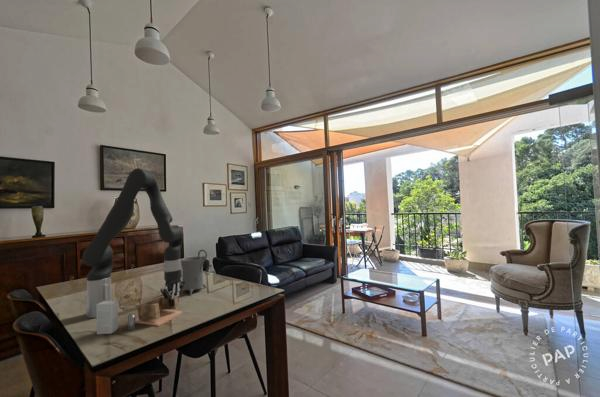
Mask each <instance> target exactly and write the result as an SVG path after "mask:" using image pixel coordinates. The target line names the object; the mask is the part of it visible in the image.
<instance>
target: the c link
mask: <svg viewBox="0 0 600 397" xmlns="http://www.w3.org/2000/svg"><path fill="white" fill-rule="evenodd" d="M170 296H171V295H170ZM178 298H179V296H177V295H174V298H173V299H174V306H173V307H170V306H169V299H165V298H164V296H163V295H160V296H157V297H156V298H153V299H151V300H148V301H146V302H143V303H141V304H138V305H136V306H137V314H138V317H139V320H143V319H158V318H160V311H161V310H177V309H179V308H180V305H179V302H178V300H179V299H178Z"/></svg>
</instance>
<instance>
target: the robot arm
mask: <svg viewBox="0 0 600 397" xmlns="http://www.w3.org/2000/svg"><path fill="white" fill-rule="evenodd" d="M141 189H142V190H143V191H144V192H145V193H146V194H147V196H148V198H149V205H150V207H149V208H150V212H151V214H152V216H153V218H154V221H155V223H156V224H157V229H158V235H159V238H160V239H161V240H162V241H163V243H166V244H168V247H166V248H165V249H164V251H163V252H164V253H163V254H164V255H163V256H164V259H163V260H164V261H163V262H164V263H163V275H164V276H163V280H164V281H165V284H164V287H163V288H160V293H161V294H162V296H164V298H165V299H169V306H170V307H173V306H174V299H173V298H174V295H177V296H178V303H179V299H180V298H179V297H180V295H181V294H183V291H184V289H183V288H184V284H185V281H182V263H181V259H182V258H181V249H182V245H183V242H184V232H183V229H182V228H181V227H179V226H171V223H172V222H173V217H172V215H171V212H170V211H169V208H168V207H167V205H166V203H165V200H164V198H163V196H162V193H161V190H160V187H159V184H158V180H157V177H156V175H155V174H154V173H153V172H152V171H149V170H146V169H142V168H134V169H133V170H132V171H131V172H130V173H129V174H128V176H127V177H126V180H125V182H124V185H123V187H122V189H121V192H120V193H119V195H118V197H117V198H116V200H115V202H114V204H113V206H112V207H111V209H110V210H109V212H108V213H107V215H106V217H105V219H104V221H103V222H102V224H101V226H100V227H99V230H98V231H97V233H96V234H95V236H94V237H93V239H92V240H91V241H90V243H89V244H88V246H86V248H85V249H84V251H83V253H82V259H81V260H82V262H83V263H84V264H85V265H86V266H88V267H92V268H91V270H90V271H89V272H88V273H87V275H86V296H85V316H86V317H87V318H89V319H95V318H96V319H97V312H96V305H97V304H99V303H101V302H103V301H112V277H111V275H112V271H113V269H114V251H113V248H112V247H111V245H110V244H111V242H112V241H113V240H114V239H115V238H116V237H117V236H118V235H119V234H120V233H121V232H122V231H124V229H125V228H126V227H127V226H128V225H129V222H130V221H131V220H132V217H133V215H134V212H135V211H134V210H135V199H136V197H137V195H138V193H139V192H140V190H141ZM170 295H171V296H170Z"/></svg>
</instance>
